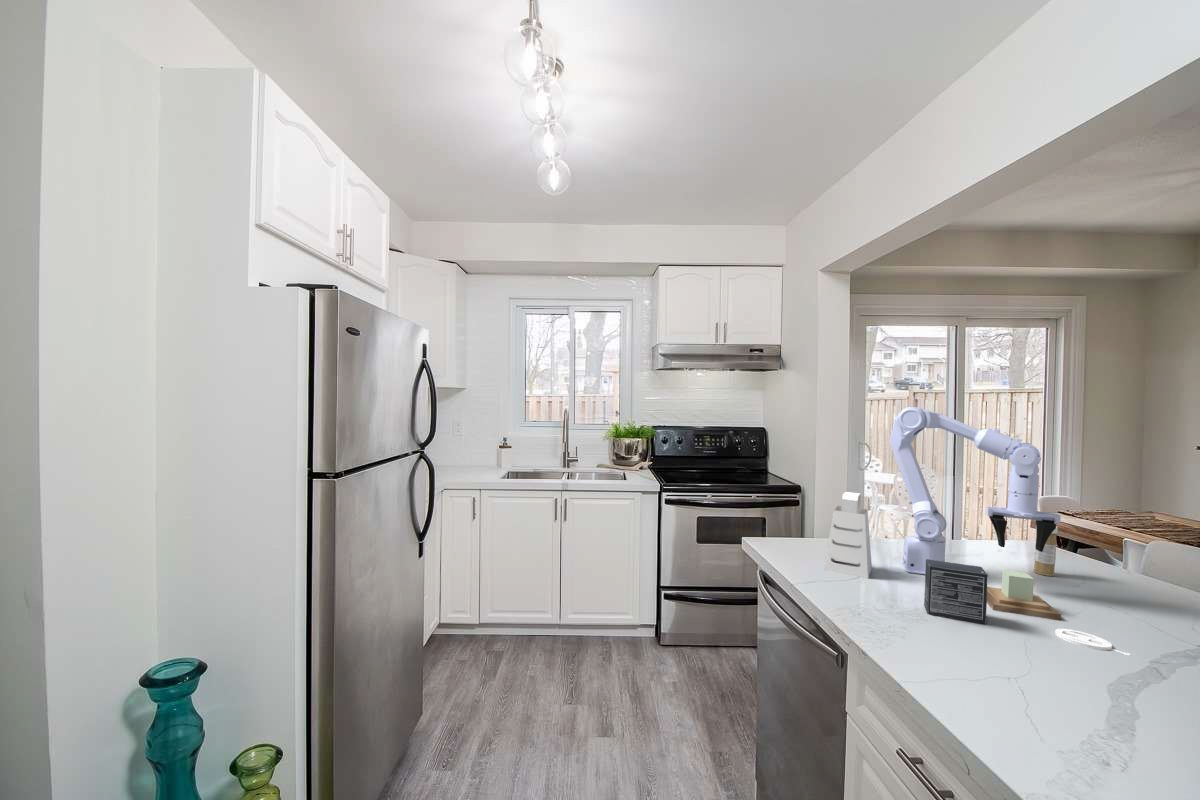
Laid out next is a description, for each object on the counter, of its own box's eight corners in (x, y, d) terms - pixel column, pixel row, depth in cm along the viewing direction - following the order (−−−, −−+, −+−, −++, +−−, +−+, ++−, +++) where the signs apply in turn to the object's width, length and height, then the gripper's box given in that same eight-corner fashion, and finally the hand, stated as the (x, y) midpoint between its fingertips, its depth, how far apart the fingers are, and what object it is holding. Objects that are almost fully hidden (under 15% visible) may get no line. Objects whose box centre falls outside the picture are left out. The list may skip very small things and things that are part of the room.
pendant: (1060, 629, 110) (1060, 625, 110) (1135, 651, 101) (1135, 647, 101) (1050, 637, 105) (1050, 633, 105) (1128, 661, 97) (1128, 657, 97)
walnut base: (993, 609, 118) (993, 600, 118) (976, 591, 129) (977, 583, 129) (1060, 620, 114) (1061, 610, 114) (1037, 600, 125) (1038, 592, 125)
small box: (980, 614, 115) (982, 565, 115) (987, 625, 110) (989, 574, 109) (922, 604, 120) (925, 557, 120) (926, 614, 114) (929, 565, 114)
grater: (823, 569, 141) (827, 494, 141) (830, 560, 150) (833, 488, 150) (867, 578, 136) (871, 499, 135) (871, 567, 145) (875, 494, 144)
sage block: (1008, 597, 120) (1009, 575, 120) (1001, 591, 124) (1002, 569, 124) (1032, 601, 119) (1033, 579, 119) (1024, 594, 123) (1026, 572, 123)
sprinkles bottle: (1035, 570, 149) (1038, 521, 149) (1056, 574, 145) (1059, 525, 145) (1031, 573, 146) (1034, 523, 146) (1052, 577, 143) (1055, 527, 142)
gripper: (993, 492, 130) (990, 548, 130) (1067, 498, 125) (1064, 557, 125) (983, 487, 136) (981, 541, 137) (1054, 494, 131) (1051, 549, 131)
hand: (1020, 548), depth 131 cm, fingers open, 7 cm apart
